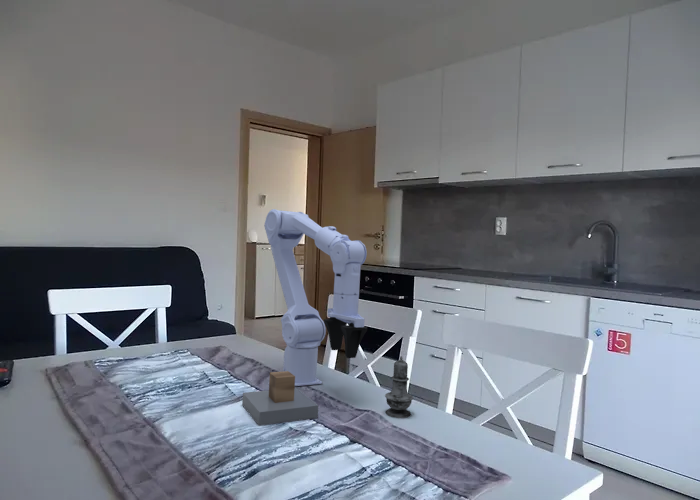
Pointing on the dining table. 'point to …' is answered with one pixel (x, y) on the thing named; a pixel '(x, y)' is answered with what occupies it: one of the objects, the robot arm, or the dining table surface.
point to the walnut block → (281, 386)
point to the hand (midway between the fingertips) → (343, 353)
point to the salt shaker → (399, 392)
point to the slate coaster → (279, 408)
